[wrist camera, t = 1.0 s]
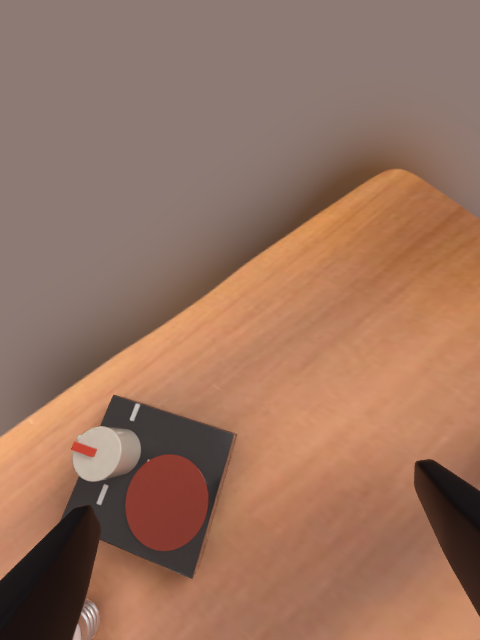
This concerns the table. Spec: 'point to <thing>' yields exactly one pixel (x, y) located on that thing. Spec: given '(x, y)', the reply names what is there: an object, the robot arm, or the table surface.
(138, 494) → the burner zone
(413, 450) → the table surface
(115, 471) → the hob knob
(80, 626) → the lightbulb
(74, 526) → the robot arm
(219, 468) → the hob
